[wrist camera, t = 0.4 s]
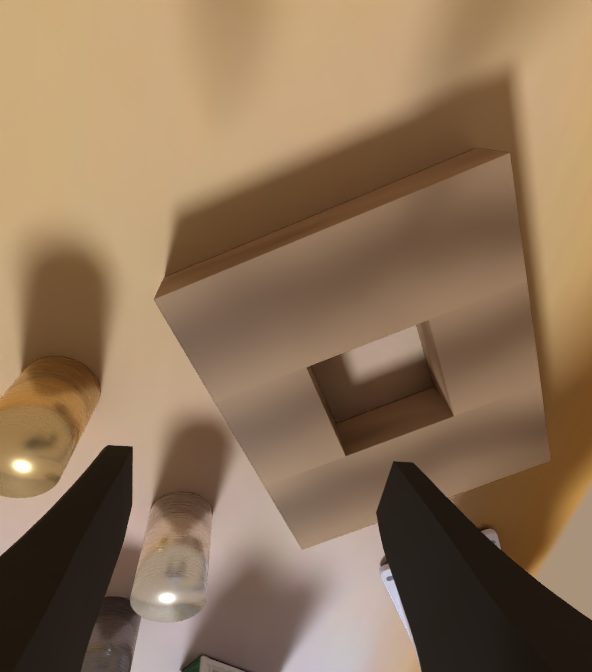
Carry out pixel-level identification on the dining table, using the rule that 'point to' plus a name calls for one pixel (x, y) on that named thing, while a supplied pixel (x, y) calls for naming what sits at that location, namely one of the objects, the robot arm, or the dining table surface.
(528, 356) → the socket board
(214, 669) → the crayon box
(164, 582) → the steel roller
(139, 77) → the dining table surface
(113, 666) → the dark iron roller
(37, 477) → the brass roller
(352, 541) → the dining table surface
